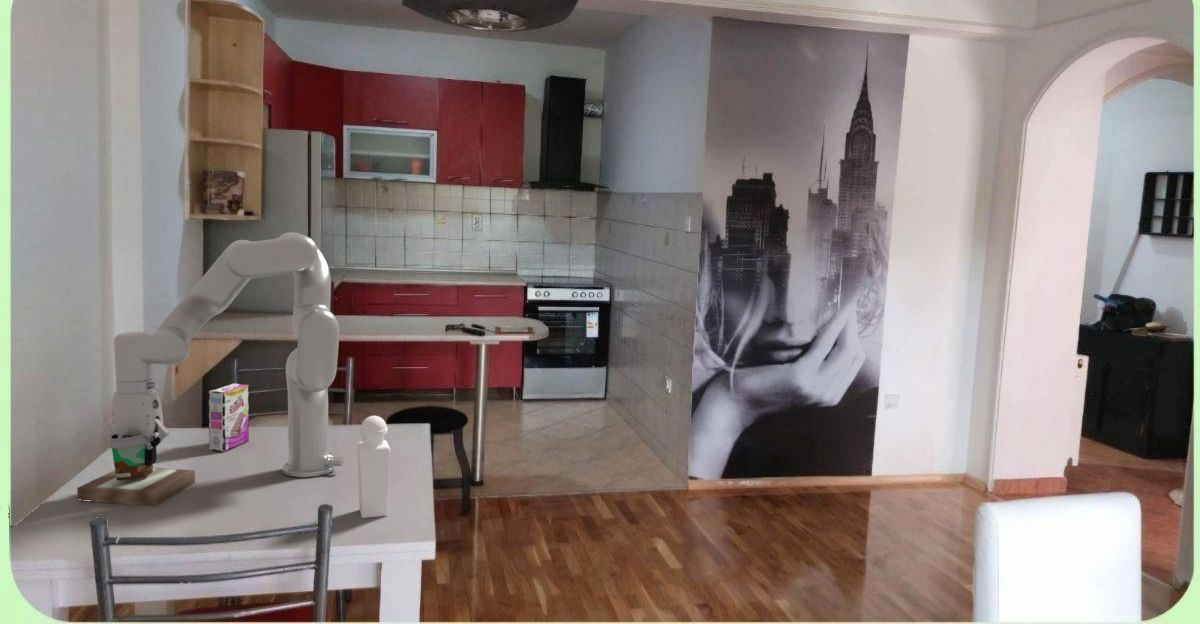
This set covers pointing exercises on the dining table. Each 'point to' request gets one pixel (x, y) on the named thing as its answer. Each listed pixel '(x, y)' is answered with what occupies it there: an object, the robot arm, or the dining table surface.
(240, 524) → the dining table surface
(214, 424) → the candy bar box
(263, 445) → the dining table surface
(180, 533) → the dining table surface
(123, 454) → the food container
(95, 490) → the plinth
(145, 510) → the dining table surface
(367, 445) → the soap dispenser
